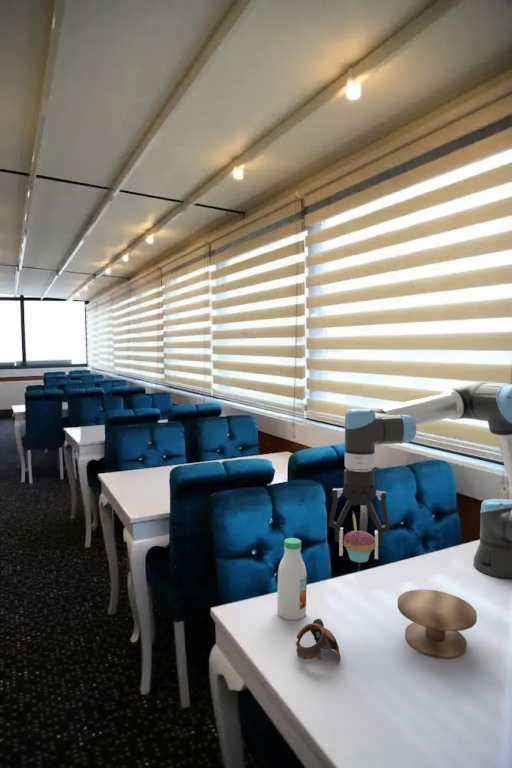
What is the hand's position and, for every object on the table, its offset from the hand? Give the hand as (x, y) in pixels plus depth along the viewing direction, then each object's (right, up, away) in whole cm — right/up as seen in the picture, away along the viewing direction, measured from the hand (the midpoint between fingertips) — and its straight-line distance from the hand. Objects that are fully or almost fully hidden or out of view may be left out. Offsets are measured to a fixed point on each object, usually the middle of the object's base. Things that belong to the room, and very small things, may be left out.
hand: (358, 555), depth 125 cm
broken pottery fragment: (-12, -18, -14) cm, 26 cm away
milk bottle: (-17, -17, +4) cm, 25 cm away
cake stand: (+17, -18, -8) cm, 26 cm away
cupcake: (0, -1, 0) cm, 1 cm away
